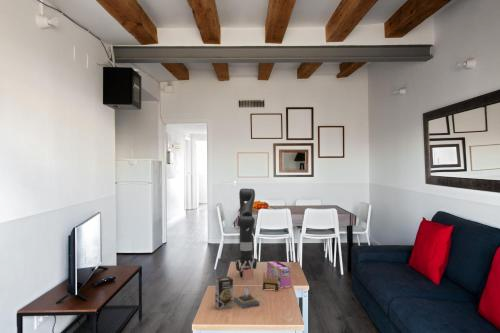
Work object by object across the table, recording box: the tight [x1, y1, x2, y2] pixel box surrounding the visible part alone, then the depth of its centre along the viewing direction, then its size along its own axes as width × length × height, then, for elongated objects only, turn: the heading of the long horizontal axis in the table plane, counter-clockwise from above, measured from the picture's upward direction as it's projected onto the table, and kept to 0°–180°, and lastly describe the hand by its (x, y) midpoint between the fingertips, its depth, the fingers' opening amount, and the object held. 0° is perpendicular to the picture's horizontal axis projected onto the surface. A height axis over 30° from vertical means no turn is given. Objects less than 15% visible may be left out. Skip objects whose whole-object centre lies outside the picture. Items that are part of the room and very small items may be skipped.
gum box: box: [266, 260, 292, 288], centre depth 219 cm, size 24×8×14 cm, turn 23°
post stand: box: [233, 286, 260, 310], centre depth 183 cm, size 14×11×9 cm
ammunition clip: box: [262, 271, 280, 290], centre depth 205 cm, size 11×2×12 cm, turn 74°
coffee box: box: [214, 276, 234, 310], centre depth 178 cm, size 9×6×16 cm
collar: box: [239, 267, 254, 282], centre depth 184 cm, size 6×6×6 cm
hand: (246, 276), depth 184 cm, fingers closed on collar, 6 cm apart
